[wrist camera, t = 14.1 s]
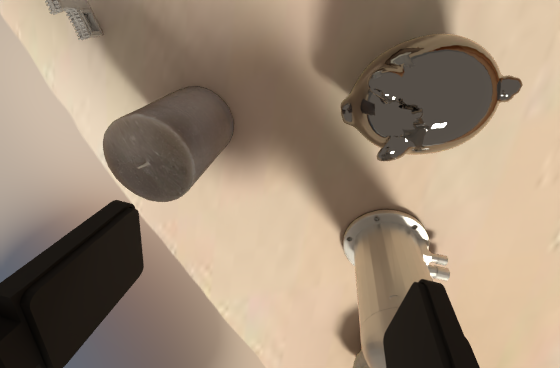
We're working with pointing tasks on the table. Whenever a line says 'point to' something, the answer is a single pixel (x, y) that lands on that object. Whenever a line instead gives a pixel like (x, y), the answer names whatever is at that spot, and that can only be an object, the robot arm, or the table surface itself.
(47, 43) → the table surface
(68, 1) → the lattice window wall
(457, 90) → the piggy bank
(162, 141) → the pillar candle
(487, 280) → the table surface
